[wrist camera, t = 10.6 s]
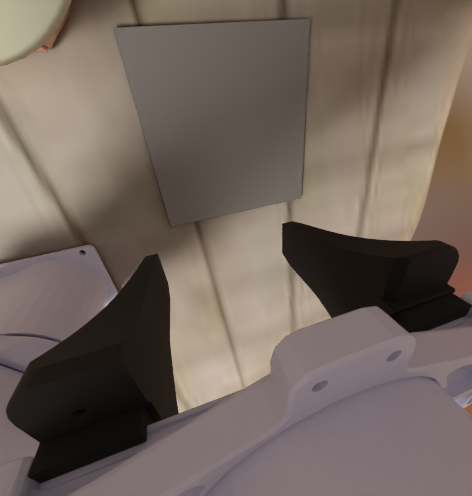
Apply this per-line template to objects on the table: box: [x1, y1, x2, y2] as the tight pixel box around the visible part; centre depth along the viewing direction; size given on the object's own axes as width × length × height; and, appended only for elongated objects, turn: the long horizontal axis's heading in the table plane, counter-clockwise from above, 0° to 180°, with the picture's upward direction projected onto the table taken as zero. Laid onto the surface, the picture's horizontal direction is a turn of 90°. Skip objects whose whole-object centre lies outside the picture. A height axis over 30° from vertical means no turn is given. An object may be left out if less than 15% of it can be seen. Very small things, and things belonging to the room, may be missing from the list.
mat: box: [113, 19, 310, 227], centre depth 19 cm, size 14×14×1 cm
